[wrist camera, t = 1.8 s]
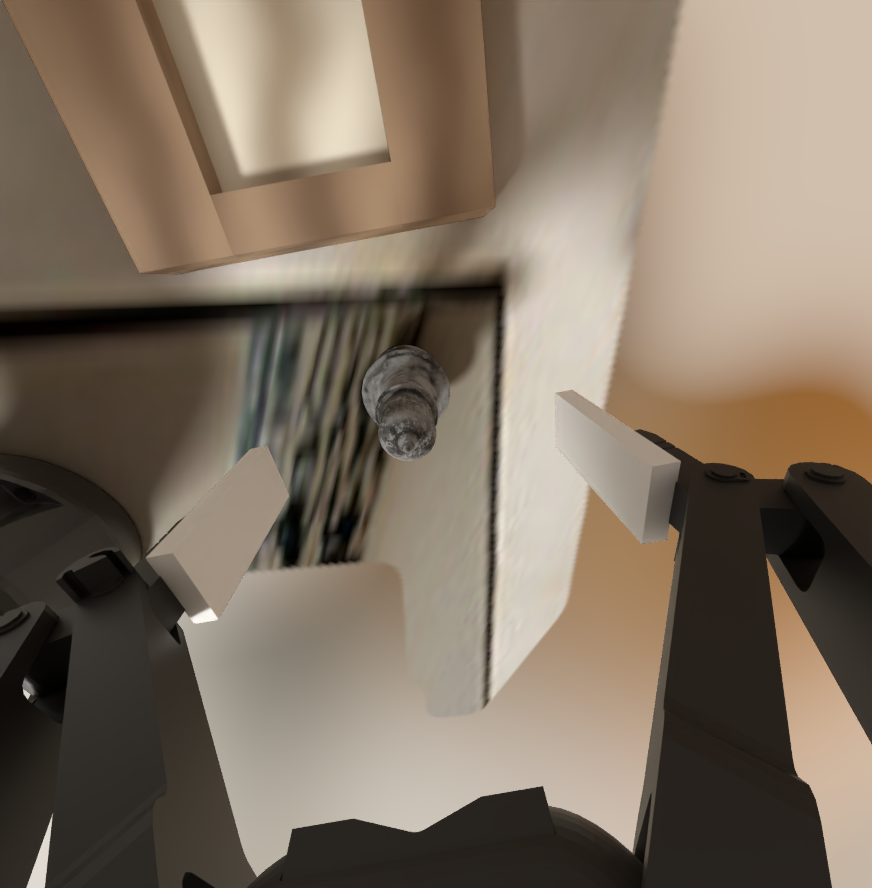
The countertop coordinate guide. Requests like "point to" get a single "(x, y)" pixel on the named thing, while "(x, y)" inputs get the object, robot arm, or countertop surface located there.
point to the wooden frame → (268, 119)
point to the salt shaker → (406, 400)
